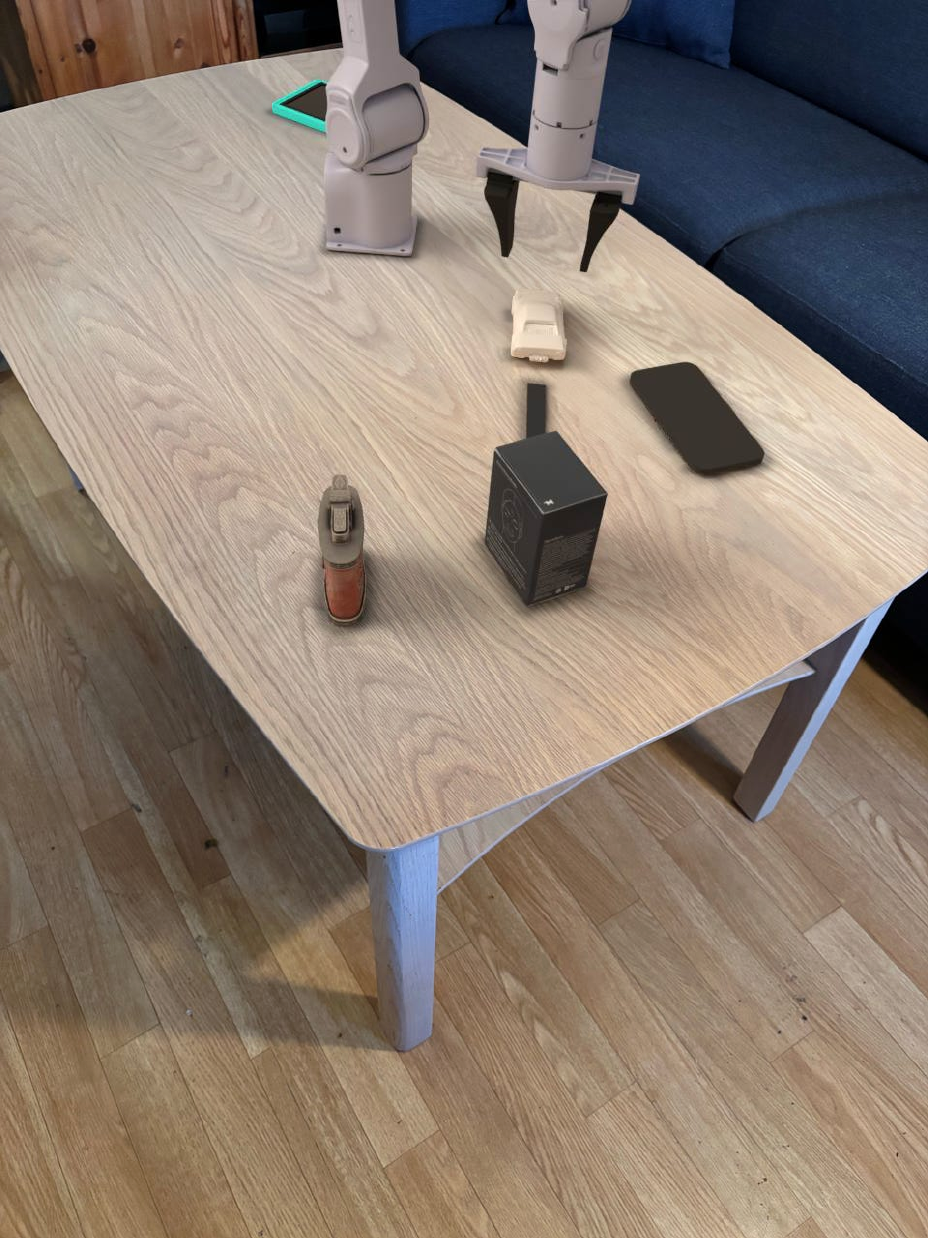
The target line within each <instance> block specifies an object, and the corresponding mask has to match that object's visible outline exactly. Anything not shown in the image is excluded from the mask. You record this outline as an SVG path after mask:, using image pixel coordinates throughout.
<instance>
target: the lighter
mask: <svg viewBox="0 0 928 1238" xmlns="http://www.w3.org/2000/svg"><path fill="white" fill-rule="evenodd" d="M318 509H319V510H318V515H317V531H318V541H319V551H320V552H319V553H320V563H321V569H322V570H323V578H322V579H323V580H322V584H323V595H324V605H325V609H326V613H327V617H328V620H329V623H331V624H332V625H333V626H335V627H338V628H341V629H348V628H353V627H355V626H357V625H359V624H360V623H361V621H362V620H363V618H364V617H363V616H364V613H365V608H366V604H367V593H368V592H367V591H368V583H367V581H368V580H367V573H366V566H365V565H366V564H365V562H364V549H363V547H364V540H365V517H364V510H363V503H362V501H361V498H360V493H359V491H358V489H357V488H356V487H355V486H353V485H350V484H349V477H348V476H347V474H346V473H345V474H344V473H336V474H333V475H332V476H331V485H329V486H328V487H326V488H325V490H324V491H323V492H322V495H321V500H320V503H319V508H318Z"/></svg>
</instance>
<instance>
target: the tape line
mask: <svg viewBox="0 0 928 1238" xmlns="http://www.w3.org/2000/svg"><path fill="white" fill-rule="evenodd" d="M546 416H547V385H546V384H545V383H544V384H543V383H531V382H527V384H526V417H525V418H526V419H525V420H526V422H525V423H526V424H525V425H526V426H525V427H526V429H525V439H527V438H530V437H534V436H537V435H541V434H545V433H547V432H546V431H547V417H546Z"/></svg>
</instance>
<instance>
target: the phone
mask: <svg viewBox="0 0 928 1238" xmlns="http://www.w3.org/2000/svg"><path fill="white" fill-rule="evenodd" d="M629 383H630V385H631V387H632V388H633V390H634V391H635V392H636V394H637V395H638V396H639V398H640V400H641V401H642V402H643V404H644V405H645V406H646V408H647V409H648V411H649V412H650V414H651V415H652V416H653V419H655V421H656V423H658V425H659V427H661V429H662V431H663V432H664V433H665V435H666V436H667V438H668V439H669V440H670V442H671V443H672V445H673V446H674V447H675V449H676V450H677V451H678V453H679V455H681V457H682V458H683V461H685V463H686V464H687V466H688V467H689V468H690V469H691V470H692V471H693V472H694V473H696V474H697V475H701V476H709V475H710V476H711V475H716V474H719V473H724V472H729V471H734V470H738V469H743V468H747V467H752V466H756V465H757V466H758V465H759V464H761V463H762V462H763V460H764V457H765V455H766V454H765V450H764V449H763V447H762V445H761V444H760V443H759V442H758V441H757V440H756V438H755V437H754V435H753V434H752V433H751V432H750V431H749V429H748V428H747V427H746V426H745V424H744V423H743V422H742V420H741V419H740V418H739V417H738V415H737V414H736V413H735V411H734V410H733V409H732V408H731V407H730V405H729V404H728V403H727V401H726V400H725V399H724V398H723V397H722V395H721V394H720V393H719V391H718V390H717V389H716V388H715V387H714V385H713V384H712V382H711V381H710V380H709V379H708V377H707V376H706V375H705V373H703V371H702V370H701V369H700V367H698V366H697V365H696V364H695V363H693V362H690V361H681V362H675V363H669V364H668V363H667V364H663V365H658V366H652V367H648V368H647V367H646V368H641V369H636V370H634V371H632V373H631V374H630V378H629Z"/></svg>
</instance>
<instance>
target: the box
mask: <svg viewBox="0 0 928 1238" xmlns="http://www.w3.org/2000/svg"><path fill="white" fill-rule="evenodd" d="M608 496H609V493H608V491H607V490H606V489H605V488H604V487H603V485H602V484H601V483H600V482H599V481H598V479H597V478H596V477H595V476H594V475H593V473H592V472H591V470H590V469H589V468H588V467H587V466H586V464H584V462H583V461H582V459H581V458H580V457H579V456H578V455H577V454H576V452H575V451H574V450H573V449H572V447H571V446H570V445H569V444H568V443H567V441H566V440H565V439H564V438H563V436H562V435H561V434H560V433H559V431H558V430H553V431H549V432H546V433H545V434H541V435H537V436H534V437H530V438H527V439H526V438H523V439H520V440H517V441H512V442H509V443H506V444H505V443H504V444H502V445H498V446H496V447H494V448H493V454H492V464H491V476H490V486H489V496H488V505H487V514H486V515H487V516H486V525H485V532H484V533H485V535H484V544H485V546H486V547H487V549H488V551H489V552H490V553H491V555H492V556H493V558H494V559H495V561H496V562H497V564H498V565H499V567H500V568H501V570H502V571H503V573H504V574H505V576H506V577H507V579H508V580H509V582H510V584H511V585H512V586H513V587H514V589H515V591H516V592H517V593H518V595H519V597H520V598H521V600H522V602H524V603H525V605H526V607H532V606H534V605H537V604H541V603H544V602H547V601H550V600H553V599H555V598H559V597H561V596H564V595H567V594H570V593H572V592H576V591H579V590H582V589H584V588H586V586H587V584H588V580H589V576H590V572H591V567H592V563H593V560H594V555H595V550H596V547H597V542H598V538H599V534H600V530H601V526H602V521H603V517H604V512H605V508H606V504H607V498H608Z"/></svg>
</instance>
